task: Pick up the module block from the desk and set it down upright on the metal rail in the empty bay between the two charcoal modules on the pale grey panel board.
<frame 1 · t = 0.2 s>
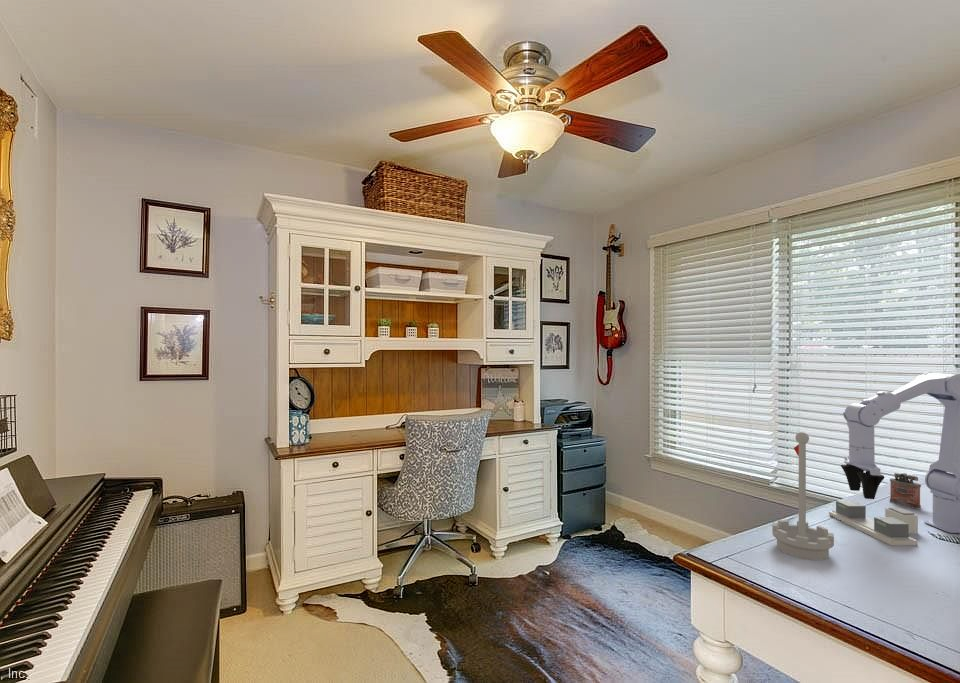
hand: (861, 494, 138), 10 cm above the table, tool pointing down, fingers open, 7 cm apart
module block: (901, 529, 138), on the table
lighter: (904, 505, 158), on the table
flag stand: (802, 551, 124), on the table
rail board: (869, 529, 138), on the table
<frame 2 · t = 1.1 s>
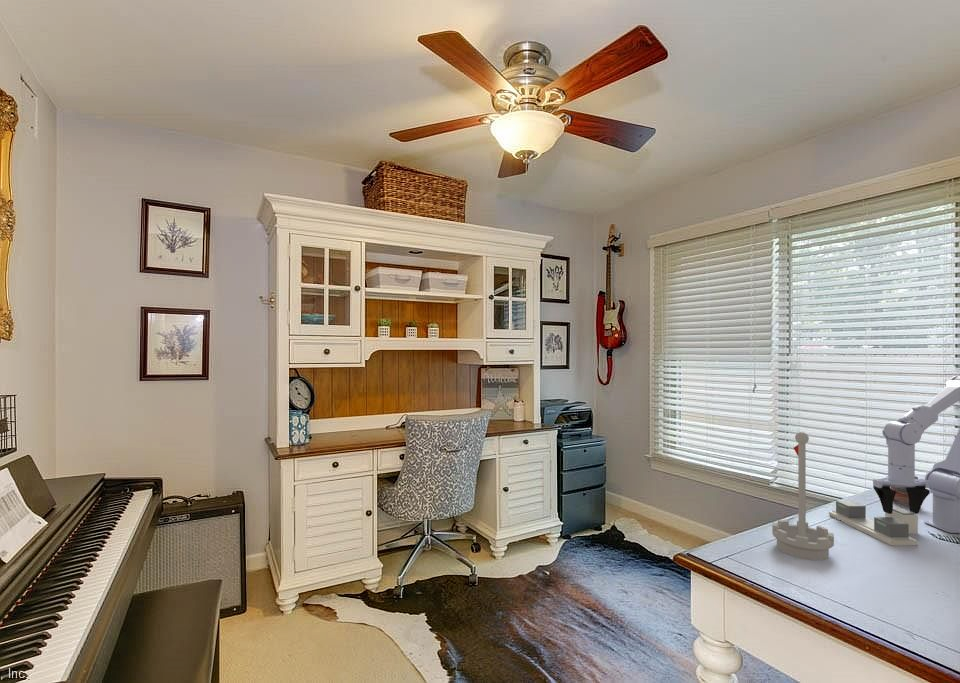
hand: (900, 512, 138), 5 cm above the table, tool pointing down, fingers open, 7 cm apart
nothing on the table moved.
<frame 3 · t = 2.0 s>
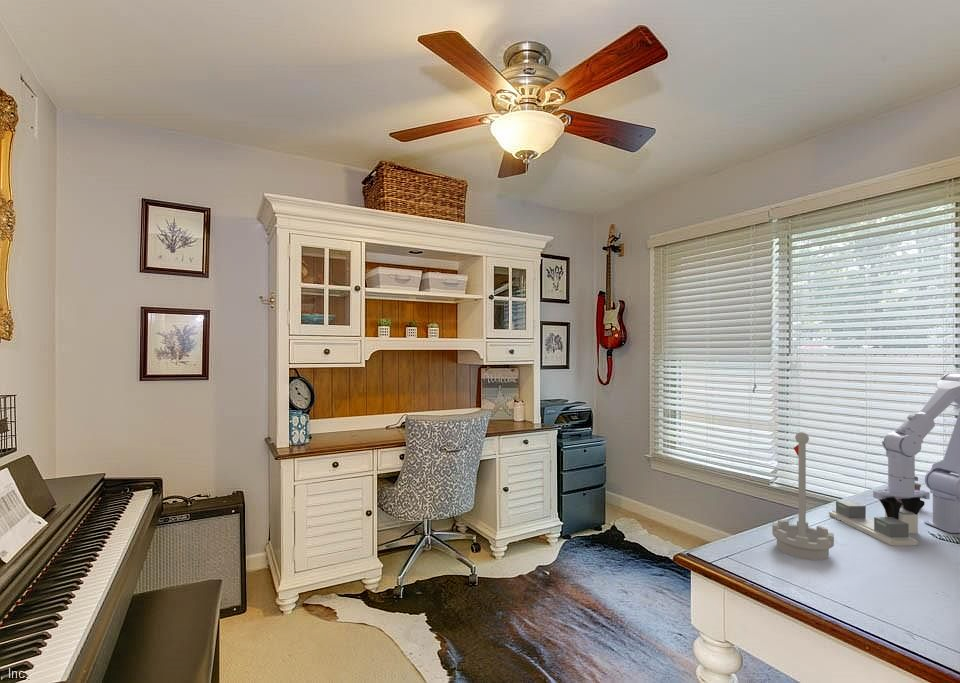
hand: (901, 524, 138), 1 cm above the table, tool pointing down, fingers closed on module block, 4 cm apart
module block: (901, 529, 138), on the table, touching gripper
everything else where it was.
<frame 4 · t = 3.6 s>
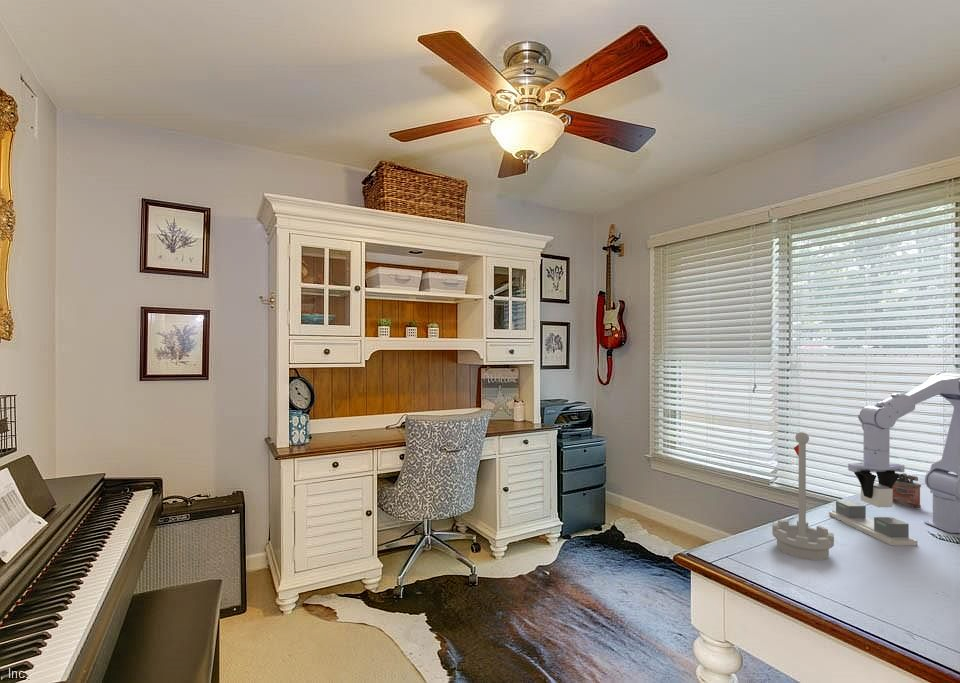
hand: (875, 497, 138), 9 cm above the table, tool pointing down, fingers closed on module block, 4 cm apart
module block: (876, 503, 137), point 7 cm above the table, touching gripper
everything else where it was.
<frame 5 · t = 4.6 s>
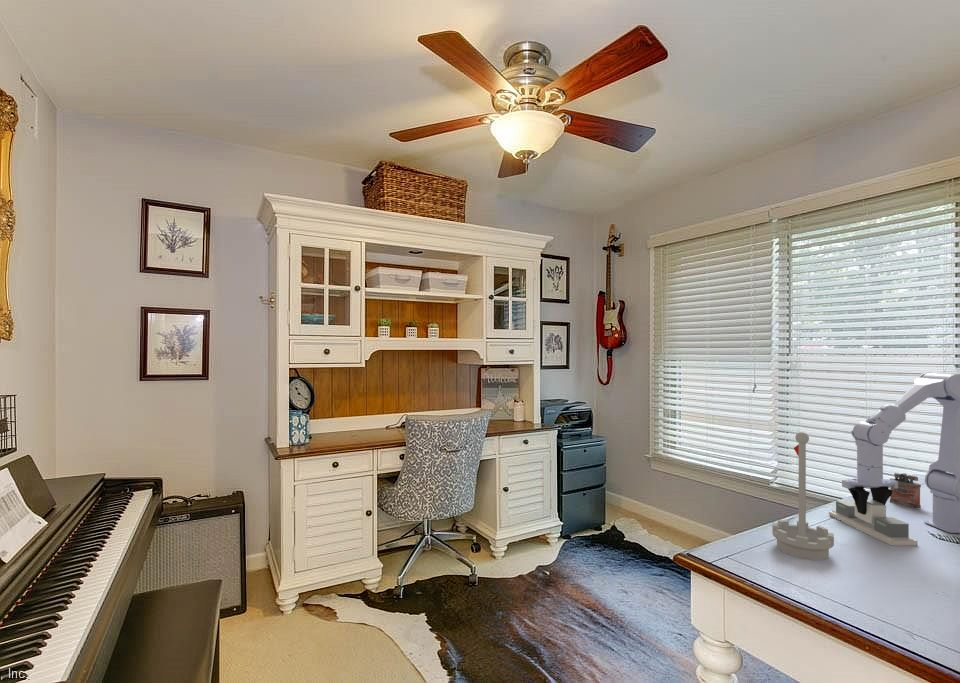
hand: (869, 513, 138), 4 cm above the table, tool pointing down, fingers closed on module block, 4 cm apart
module block: (870, 519, 137), point 3 cm above the table, touching gripper
everything else where it was.
when the fingers open (4 cm above the table, at t = 5.4 s): module block drops 1 cm, resting on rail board.
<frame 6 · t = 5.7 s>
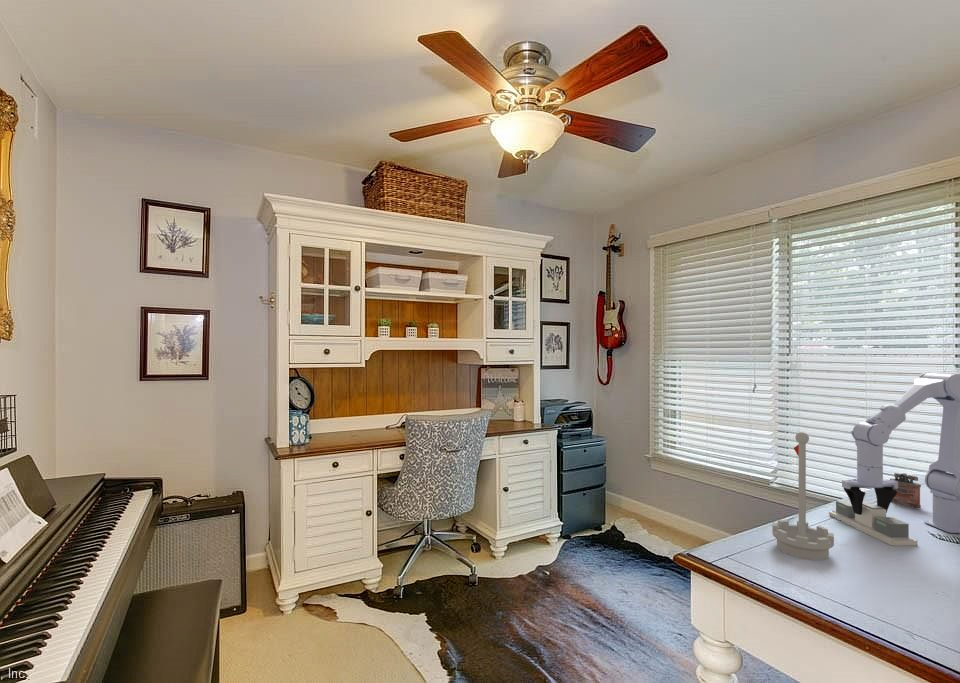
hand: (869, 513, 138), 4 cm above the table, tool pointing down, fingers open, 6 cm apart
module block: (870, 523, 137), point 1 cm above the table, touching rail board
everything else where it was.
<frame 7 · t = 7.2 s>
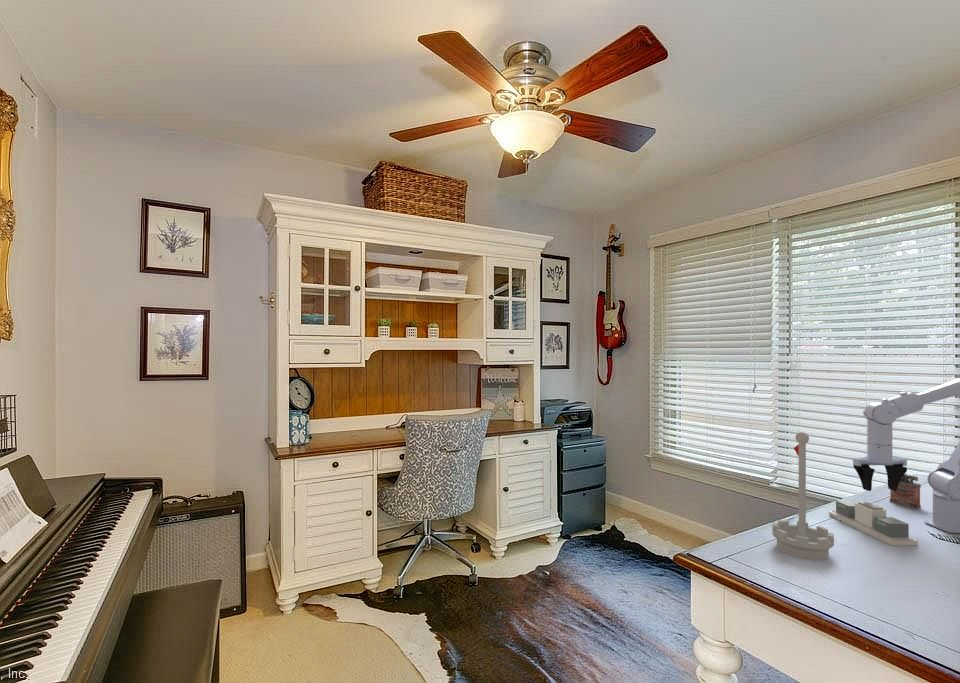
hand: (879, 489, 143), 9 cm above the table, tool pointing down, fingers open, 7 cm apart
nothing on the table moved.
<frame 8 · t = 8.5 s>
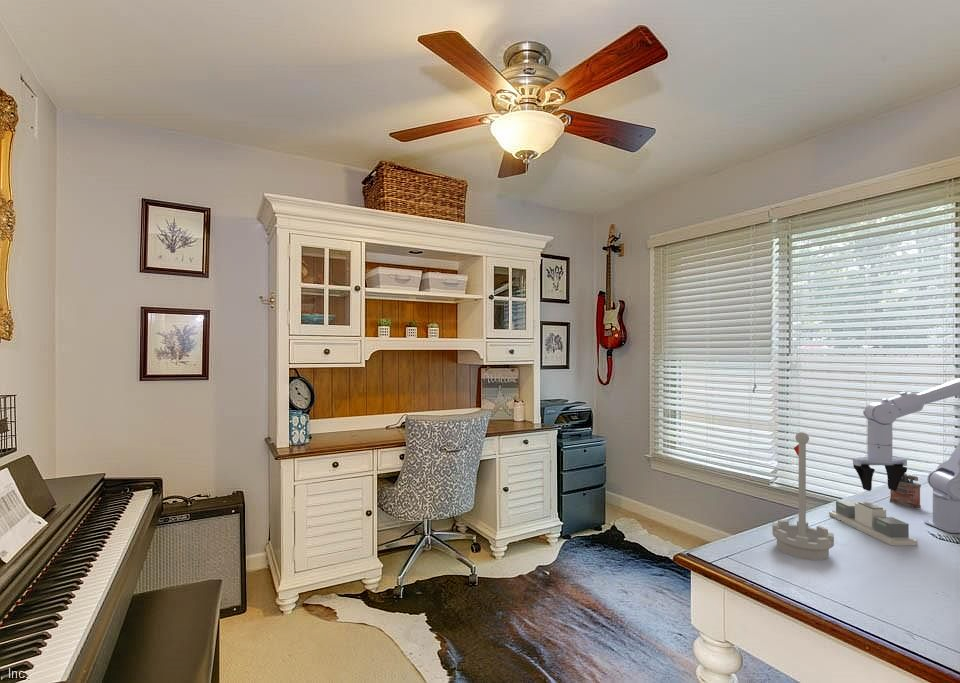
hand: (879, 489, 143), 9 cm above the table, tool pointing down, fingers open, 7 cm apart
nothing on the table moved.
at the end: module block 0.1 cm off-centre on the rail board, point 1.5 cm above the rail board's base; module block tilted 0°; the gripper is holding nothing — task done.
